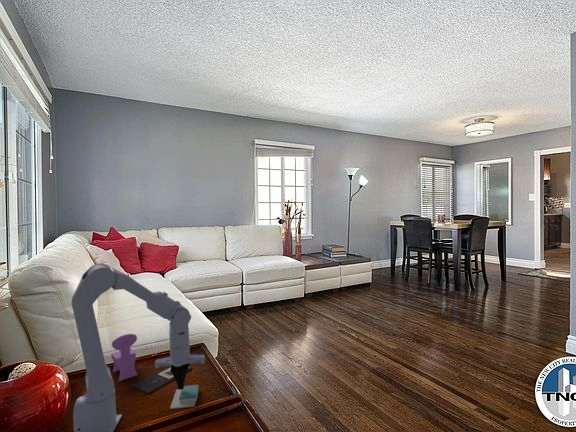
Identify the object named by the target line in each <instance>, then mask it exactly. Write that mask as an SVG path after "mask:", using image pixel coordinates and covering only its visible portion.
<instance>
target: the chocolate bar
mask: <svg viewBox="0 0 576 432" xmlns="http://www.w3.org/2000/svg"><path fill="white" fill-rule="evenodd" d="M170 370H171V366H165V367H163V369H161V370H159V371H156V372H155V373H153V374H152V375H149V376H147V377H146V378H143V379H142V380H141V379H140V381H137V382H135V383H134V384H132V385H131V388H133V389H136V390H138V391H140V392H142V393H145V394H147V395H150V394H152V393H154V392H155V391H157V390H160V389H161V388H162V387H165V386H166V385H168V384H170V383H171V382H174V381H176V380H175V378H174V376H173V375H172V373H171V371H170ZM191 371H193V367H190V366H189V368H188V371H187V373H189V372H191Z"/></svg>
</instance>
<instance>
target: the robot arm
mask: <svg viewBox="0 0 576 432" xmlns="http://www.w3.org/2000/svg"><path fill="white" fill-rule="evenodd" d="M110 289H112V290H113V291H118V290H124V291H126V292H128V293H129V294H131V295H133V296H135V297H137V298H138V299H141V300H142V301H144V302H145V303H146V308H147V309H148V310H149V311H151V312H153V313H155V314H156V315H158V316H160V317H161V318H162V319H165V320H167V321H169V324H168V325H169V331H168V334H169V352H170V353H169V356H167V357H163V358H158V359H156V360H155V361H154V369H159V368H162V367H163V368H166V367H168V366H171V370H170V371H171V373H172V375H173V376H174V378H175V380H174V381H175V383H176V385H177V389H179V390H180V389H183V388H184V386H185V381H186V377H187V374H188V372H187V371H188V368H189V367H190V365H193V364H205V362H206V358H205V354H191V352H190V351H191V350H190V331H189V330H190V329H189V323H190V322H191V320H192V315H191V313H190V311H189V310H188V308H186V307H185V306H184V305H183V304H182V303H181V302H180V301H179V300H176V301H175V299H173V298H171V297H169V294H168V292H166V291H163V292H162V291H160V290H159V291H154V292H153V291H151V290H150V289H148V288H147V287H146V286H144V285H143V284H141V283H139V282H138V281H137V280H135V279H134V278H132V277H131V276H129V275H128V274H127V273H124V272H122V271H120V270H118V269H116V268H112V269H111V267H110V266H109V265H108V264H105V263H102V262H101V263H96V264H93V265H91V266H89V268H88V269H87V270H86V271H85V272H84V273H83V274H82V275H81V278H80V280H79V283H78V285H77V287H76V289H75V291H74V293H73V295H72V297H71V306H72V311H73V316H74V320H75V325H76V328H77V334H78V338H79V344H80V347H81V352H82V356H83V360H84V366H85V371H86V373H85V376H84V381H85V384H86V393H85V394H84V395H81V396H79V397H78V398H77V399H76V401H75V404H74V405H73V411H72V412H73V413H72V416H73V417H72V419H73V421H72V422H73V432H114V431H115V430H116V427H117V425H118V424H119V422H120V420H121V418H122V416H123V415H122V414H117V408H116V407H117V405H116V388H115V382H114V380H113V377H112V371H111V368H110V366H108V365H107V363H106V362H105V356H104V352H103V346H102V342H101V338H100V333H99V328H98V325H97V324H98V323H97V320H96V315H95V310H94V309H95V308H94V305H93V304H94V303H95V302H96V301H97V300H98V298H99V297H100V296H101V295H102V294H104V293H105V292H108V291H109V290H110Z"/></svg>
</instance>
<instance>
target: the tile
mask: <svg viewBox="0 0 576 432" xmlns="http://www.w3.org/2000/svg"><path fill="white" fill-rule="evenodd" d="M199 387H200V385H199V384H192V385H191V384H190V385H184V388H183V389H181V393H180V396H179V403H183V402H192V401H196V402H197V399H198V395H199V390H200V388H199Z"/></svg>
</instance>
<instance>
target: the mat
mask: <svg viewBox="0 0 576 432" xmlns="http://www.w3.org/2000/svg"><path fill="white" fill-rule="evenodd" d="M180 393H181V389H180V390H179V389H178V388H177V389H176V390H175V393H174V396H173V399H172V401H171V404H170V408H169V410H176V409H177V410H178V409H185V408H193V407H195V406H196V402H197V401H192V402H183V403H179V396H180Z"/></svg>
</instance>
